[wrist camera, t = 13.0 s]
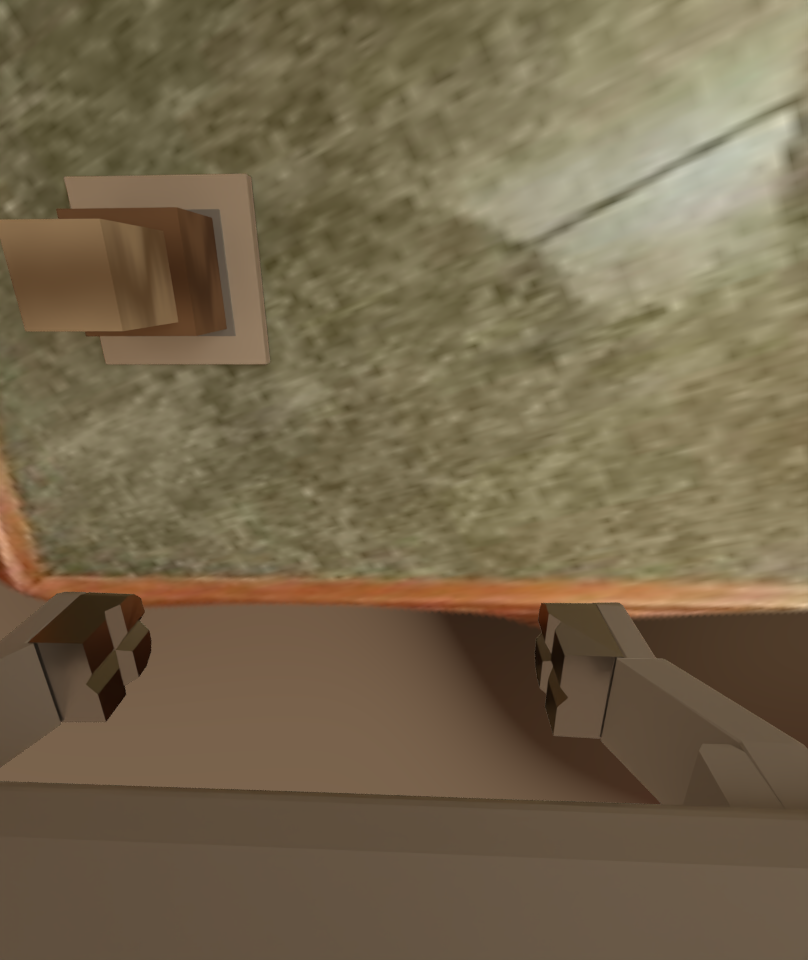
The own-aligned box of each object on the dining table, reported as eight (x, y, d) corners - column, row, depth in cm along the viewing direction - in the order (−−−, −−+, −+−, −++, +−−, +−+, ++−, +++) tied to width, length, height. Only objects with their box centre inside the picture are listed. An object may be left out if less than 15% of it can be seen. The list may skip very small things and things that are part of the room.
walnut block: (108, 219, 33) (56, 209, 28) (212, 217, 33) (176, 207, 28) (130, 329, 36) (86, 336, 31) (226, 328, 35) (196, 335, 31)
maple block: (78, 231, 29) (-5, 219, 23) (163, 230, 29) (99, 218, 23) (98, 322, 31) (25, 331, 25) (178, 322, 30) (122, 331, 25)
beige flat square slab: (73, 179, 33) (61, 176, 32) (251, 176, 33) (244, 173, 32) (113, 362, 38) (104, 364, 37) (270, 362, 37) (265, 364, 36)
